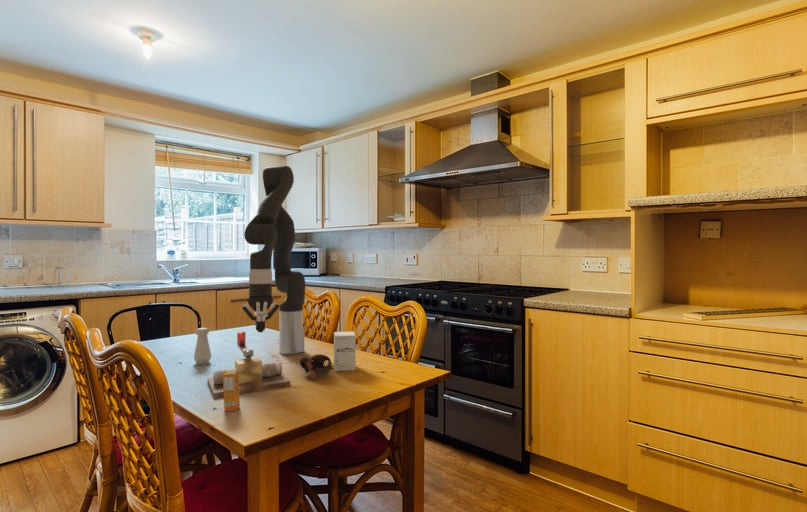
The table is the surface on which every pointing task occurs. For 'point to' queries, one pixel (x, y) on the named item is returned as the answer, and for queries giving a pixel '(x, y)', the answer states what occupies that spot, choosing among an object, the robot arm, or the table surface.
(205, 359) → the salt shaker
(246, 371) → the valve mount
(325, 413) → the table surface
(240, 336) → the valve lever
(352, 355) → the supplement box
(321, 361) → the pottery mug
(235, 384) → the supplement box
